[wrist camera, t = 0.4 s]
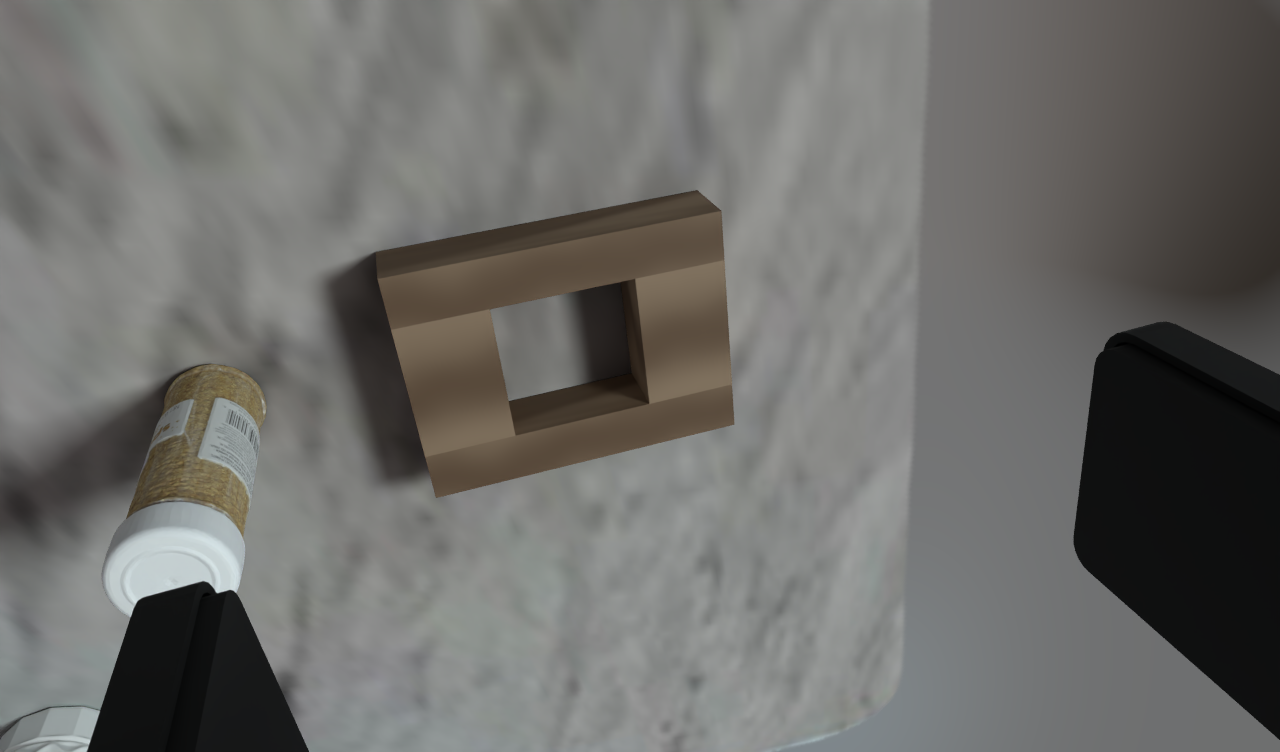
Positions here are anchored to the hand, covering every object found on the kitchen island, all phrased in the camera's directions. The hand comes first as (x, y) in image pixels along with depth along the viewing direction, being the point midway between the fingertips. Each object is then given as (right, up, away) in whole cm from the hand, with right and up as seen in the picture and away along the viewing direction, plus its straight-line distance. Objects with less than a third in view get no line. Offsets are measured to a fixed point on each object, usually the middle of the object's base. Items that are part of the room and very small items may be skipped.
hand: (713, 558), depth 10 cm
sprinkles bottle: (-21, +1, +34) cm, 40 cm away
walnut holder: (-5, +4, +37) cm, 38 cm away
